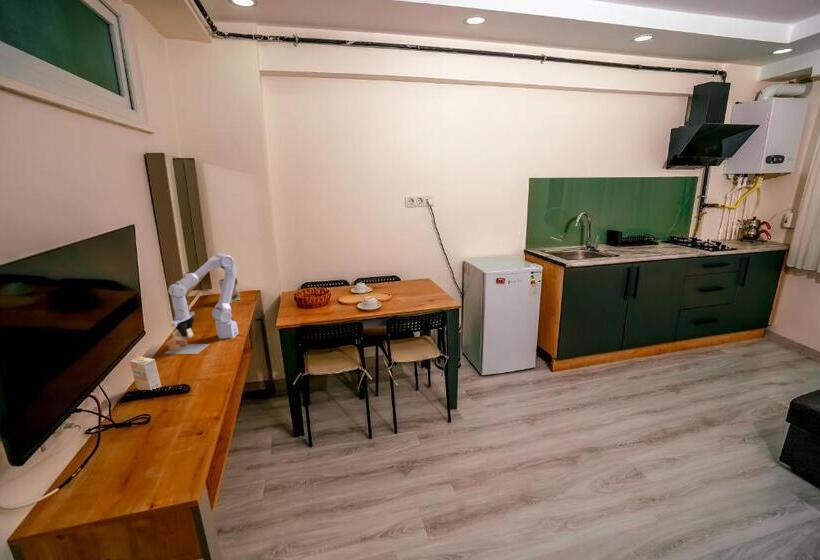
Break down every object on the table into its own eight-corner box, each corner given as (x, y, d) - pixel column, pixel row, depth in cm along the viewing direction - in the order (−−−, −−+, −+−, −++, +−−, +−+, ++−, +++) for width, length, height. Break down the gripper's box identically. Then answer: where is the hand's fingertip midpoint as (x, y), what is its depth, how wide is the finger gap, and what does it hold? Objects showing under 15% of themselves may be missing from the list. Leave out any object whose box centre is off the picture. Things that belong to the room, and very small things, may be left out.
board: (210, 345, 187) (210, 344, 187) (198, 355, 178) (197, 353, 178) (178, 345, 189) (178, 343, 188) (164, 354, 179) (164, 353, 179)
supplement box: (136, 390, 150) (128, 361, 147) (148, 383, 155) (140, 355, 151) (151, 393, 148) (143, 364, 144) (162, 387, 152) (155, 358, 148)
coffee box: (228, 304, 244) (224, 281, 240) (222, 303, 248) (218, 280, 243) (240, 300, 252) (236, 277, 247) (234, 299, 255) (230, 276, 250)
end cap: (187, 344, 187) (185, 336, 186) (179, 350, 181) (177, 342, 180) (177, 344, 187) (175, 336, 186) (168, 350, 182) (166, 342, 180)
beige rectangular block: (193, 335, 183) (190, 327, 182) (189, 338, 180) (186, 330, 179) (178, 337, 184) (176, 330, 183) (174, 340, 182) (171, 332, 180)
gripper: (183, 303, 185) (188, 328, 189) (162, 314, 171) (168, 341, 175) (196, 303, 185) (201, 328, 188) (176, 314, 171) (183, 341, 175)
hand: (186, 334), depth 182 cm, fingers closed on beige rectangular block, 3 cm apart
